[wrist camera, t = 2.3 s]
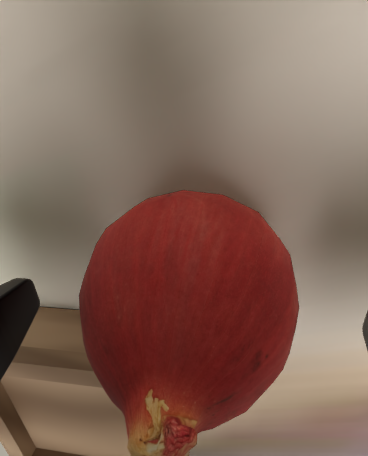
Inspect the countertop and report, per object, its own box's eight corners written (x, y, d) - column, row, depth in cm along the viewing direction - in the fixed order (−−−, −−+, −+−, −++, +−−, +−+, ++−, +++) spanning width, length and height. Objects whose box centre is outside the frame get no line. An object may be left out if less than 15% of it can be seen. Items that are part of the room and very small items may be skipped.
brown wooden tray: (191, 434, 19) (183, 499, 16) (47, 414, 20) (17, 469, 17) (183, 318, 14) (170, 380, 11) (-3, 303, 16) (-55, 354, 13)
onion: (262, 298, 13) (295, 577, 6) (133, 279, 13) (20, 510, 6) (294, 167, 10) (434, 400, 3) (129, 151, 10) (-83, 311, 4)
